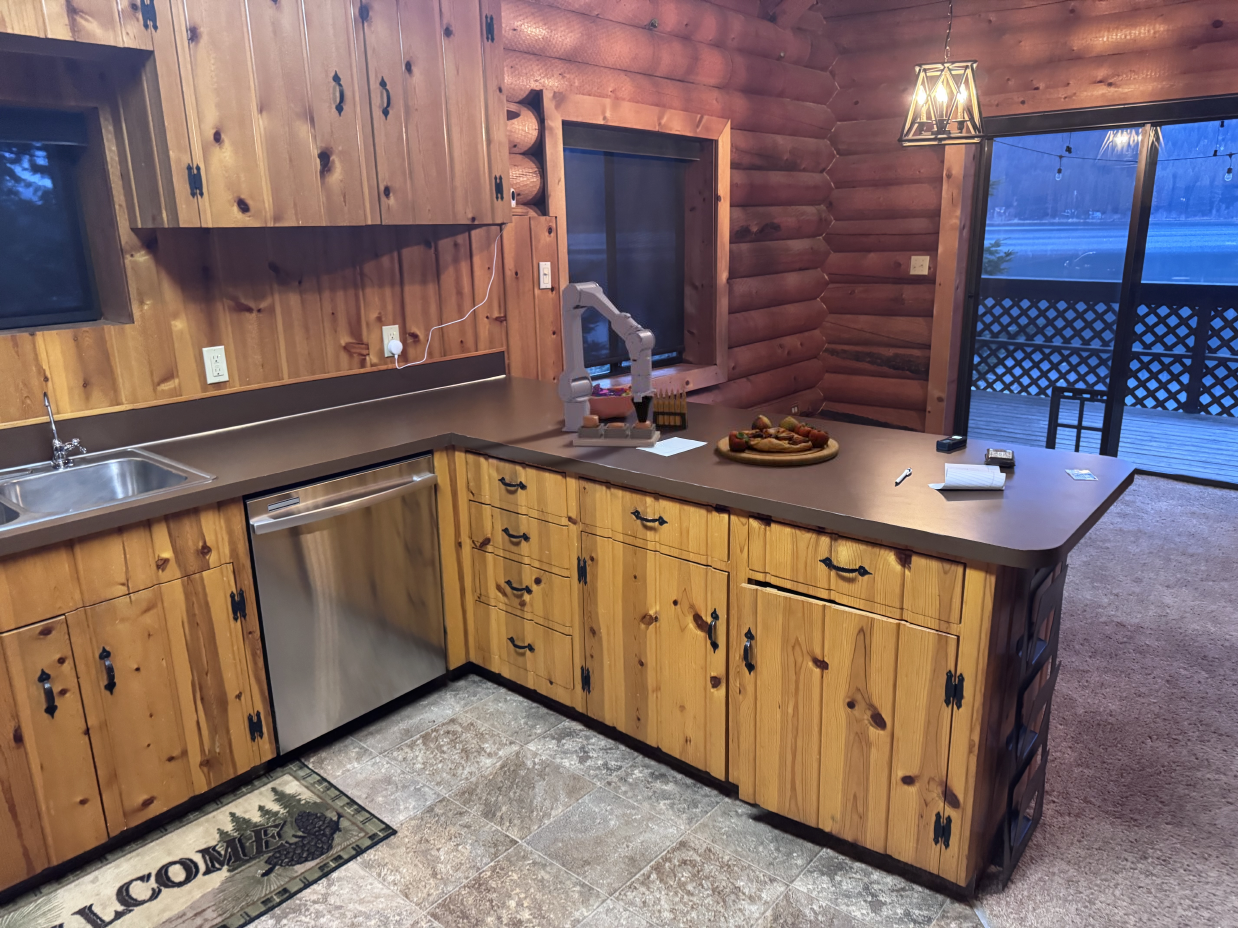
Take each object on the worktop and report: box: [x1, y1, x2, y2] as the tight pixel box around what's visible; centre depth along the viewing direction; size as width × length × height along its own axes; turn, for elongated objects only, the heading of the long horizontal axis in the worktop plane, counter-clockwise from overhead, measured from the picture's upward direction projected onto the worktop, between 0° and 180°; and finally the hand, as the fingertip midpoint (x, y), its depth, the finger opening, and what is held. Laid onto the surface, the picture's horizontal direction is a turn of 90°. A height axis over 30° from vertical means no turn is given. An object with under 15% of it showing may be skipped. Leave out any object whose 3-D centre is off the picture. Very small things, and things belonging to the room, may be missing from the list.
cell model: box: [588, 382, 635, 420], centre depth 273 cm, size 17×20×11 cm
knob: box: [634, 420, 651, 429], centre depth 242 cm, size 4×4×3 cm
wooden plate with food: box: [716, 414, 840, 467], centre depth 228 cm, size 32×32×8 cm
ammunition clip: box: [652, 388, 689, 430], centre depth 257 cm, size 11×2×12 cm, turn 69°
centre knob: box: [609, 422, 625, 428], centre depth 244 cm, size 4×4×3 cm
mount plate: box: [572, 423, 661, 448], centre depth 244 cm, size 12×23×4 cm, turn 79°
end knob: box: [583, 415, 600, 428], centre depth 245 cm, size 4×4×3 cm
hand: (642, 422), depth 242 cm, fingers closed, pressing on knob
